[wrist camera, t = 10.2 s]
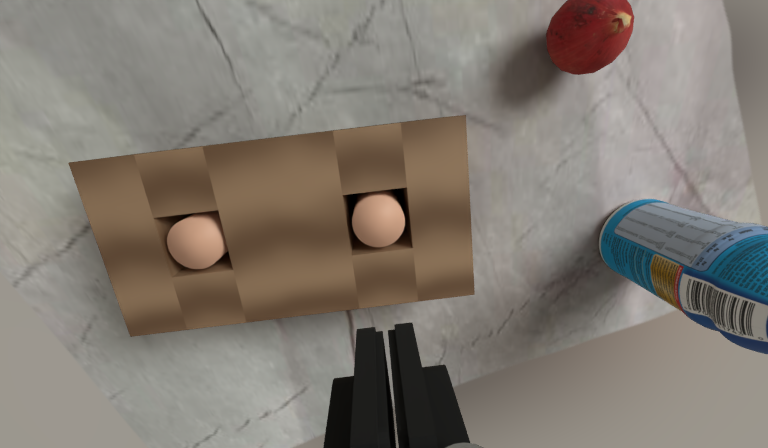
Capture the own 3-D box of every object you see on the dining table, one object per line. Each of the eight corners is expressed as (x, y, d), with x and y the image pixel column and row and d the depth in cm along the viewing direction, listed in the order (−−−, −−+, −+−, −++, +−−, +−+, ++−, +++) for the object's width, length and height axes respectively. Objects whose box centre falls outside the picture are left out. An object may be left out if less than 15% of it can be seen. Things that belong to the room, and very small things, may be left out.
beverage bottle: (626, 181, 35) (940, 252, 16) (692, 217, 36) (1057, 322, 17) (578, 254, 37) (805, 396, 18) (642, 286, 38) (919, 450, 19)
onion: (516, 48, 31) (564, 24, 24) (563, -9, 30) (629, -55, 22) (561, 92, 32) (621, 83, 25) (608, 38, 31) (686, 11, 24)
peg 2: (353, 183, 33) (348, 199, 26) (395, 178, 34) (402, 193, 26) (358, 223, 35) (355, 250, 27) (399, 218, 35) (407, 243, 27)
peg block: (139, 153, 32) (68, 162, 25) (443, 117, 33) (465, 115, 25) (181, 291, 36) (130, 336, 29) (452, 258, 36) (474, 294, 29)
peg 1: (205, 201, 33) (160, 222, 26) (247, 196, 33) (214, 215, 26) (216, 241, 34) (175, 272, 27) (256, 236, 35) (227, 265, 27)
